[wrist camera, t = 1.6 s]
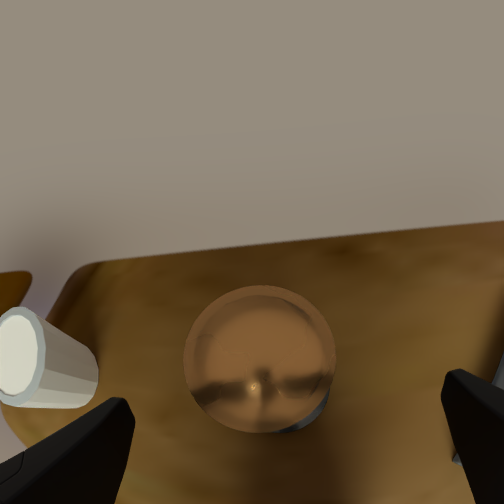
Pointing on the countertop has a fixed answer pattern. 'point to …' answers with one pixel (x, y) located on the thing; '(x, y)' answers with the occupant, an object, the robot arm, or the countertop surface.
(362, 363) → the countertop surface
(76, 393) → the white cup
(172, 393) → the countertop surface
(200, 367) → the pin
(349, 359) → the countertop surface
